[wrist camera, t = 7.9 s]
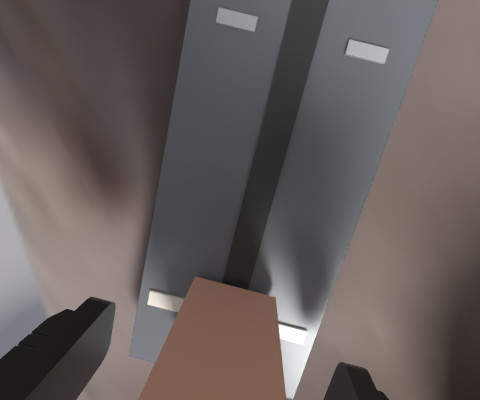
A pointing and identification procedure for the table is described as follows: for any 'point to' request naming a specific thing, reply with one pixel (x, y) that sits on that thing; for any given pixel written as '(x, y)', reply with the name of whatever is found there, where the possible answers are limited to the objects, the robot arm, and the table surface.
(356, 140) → the fader console
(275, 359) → the fader knob
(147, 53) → the table surface
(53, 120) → the table surface
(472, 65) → the table surface
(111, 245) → the table surface
